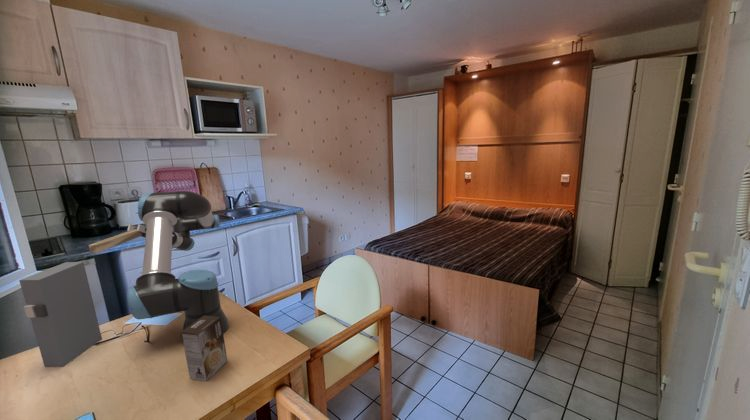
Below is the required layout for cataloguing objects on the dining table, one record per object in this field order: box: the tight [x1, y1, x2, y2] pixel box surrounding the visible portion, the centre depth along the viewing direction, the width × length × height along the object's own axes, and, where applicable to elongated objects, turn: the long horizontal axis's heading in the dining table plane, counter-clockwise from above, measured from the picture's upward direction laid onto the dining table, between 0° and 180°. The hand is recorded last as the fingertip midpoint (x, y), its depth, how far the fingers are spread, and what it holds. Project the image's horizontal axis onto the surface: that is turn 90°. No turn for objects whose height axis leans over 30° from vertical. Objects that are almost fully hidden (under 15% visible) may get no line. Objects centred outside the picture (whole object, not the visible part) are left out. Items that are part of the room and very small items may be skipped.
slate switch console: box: [19, 261, 103, 368], centre depth 100 cm, size 6×15×30 cm, turn 179°
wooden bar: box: [88, 225, 147, 254], centre depth 124 cm, size 3×26×3 cm, turn 179°
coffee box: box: [180, 315, 228, 382], centre depth 93 cm, size 9×6×16 cm
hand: (133, 227), depth 130 cm, fingers closed on wooden bar, 3 cm apart
